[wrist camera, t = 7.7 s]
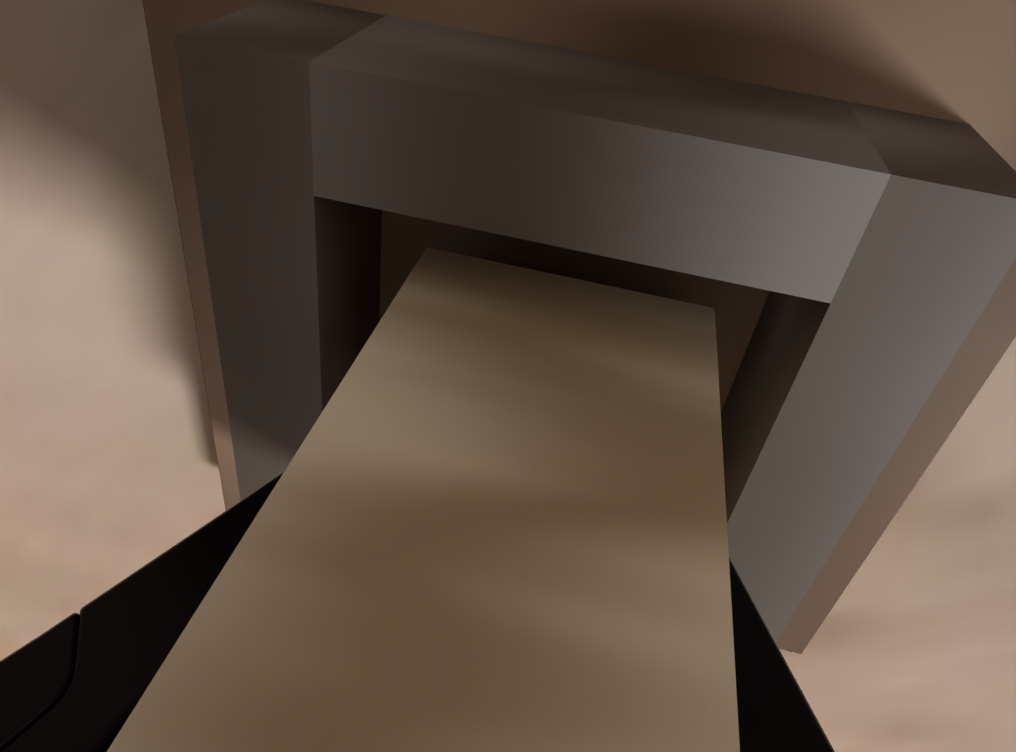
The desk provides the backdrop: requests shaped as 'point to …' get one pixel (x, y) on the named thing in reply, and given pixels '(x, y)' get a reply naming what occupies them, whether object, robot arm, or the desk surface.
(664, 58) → the socket holder
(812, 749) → the robot arm
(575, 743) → the maple peg
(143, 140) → the desk surface
